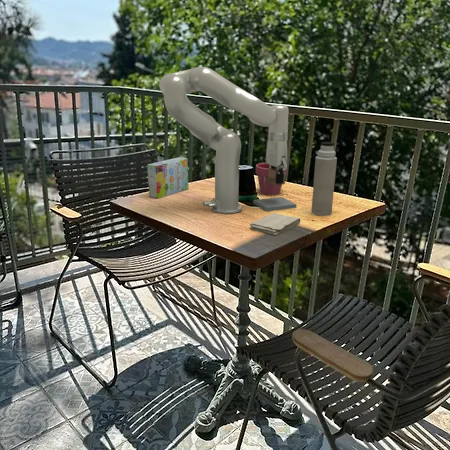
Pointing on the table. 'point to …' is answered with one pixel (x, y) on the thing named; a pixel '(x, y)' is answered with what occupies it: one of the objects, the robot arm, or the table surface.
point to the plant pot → (266, 180)
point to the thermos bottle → (324, 180)
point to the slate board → (274, 204)
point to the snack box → (168, 177)
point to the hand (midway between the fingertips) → (276, 181)
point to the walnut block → (274, 176)
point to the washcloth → (274, 224)
